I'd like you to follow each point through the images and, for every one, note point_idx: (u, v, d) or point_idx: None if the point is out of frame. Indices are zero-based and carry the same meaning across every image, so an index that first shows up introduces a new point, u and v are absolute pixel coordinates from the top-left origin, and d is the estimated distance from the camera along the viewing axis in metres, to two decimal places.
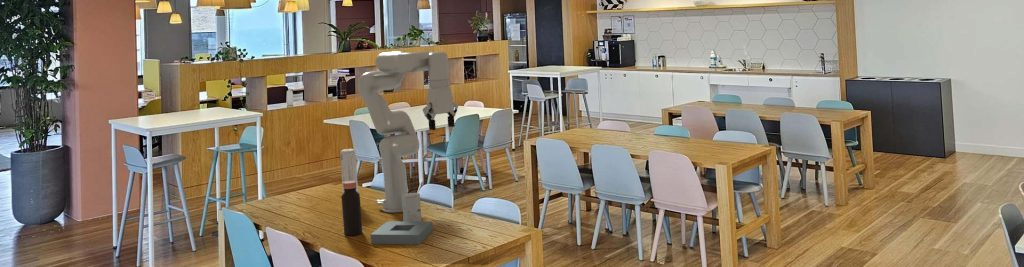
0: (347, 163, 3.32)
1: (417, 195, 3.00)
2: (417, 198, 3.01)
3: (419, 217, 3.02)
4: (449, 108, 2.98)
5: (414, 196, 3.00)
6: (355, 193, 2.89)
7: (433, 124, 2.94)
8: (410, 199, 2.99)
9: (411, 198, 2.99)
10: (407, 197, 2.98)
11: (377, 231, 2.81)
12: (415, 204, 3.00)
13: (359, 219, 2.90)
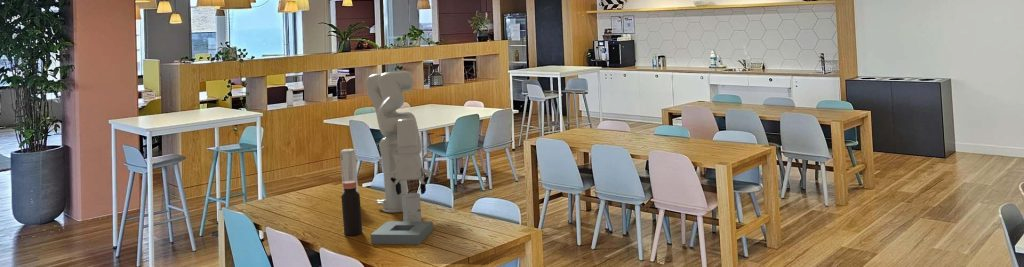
0: (347, 163, 3.32)
1: (417, 195, 3.00)
2: (417, 198, 3.01)
3: (419, 217, 3.02)
4: None
5: (414, 196, 3.00)
6: (355, 193, 2.89)
7: None
8: (410, 199, 2.99)
9: (411, 198, 2.99)
10: (407, 197, 2.98)
11: (377, 231, 2.81)
12: (415, 204, 3.00)
13: (359, 219, 2.90)
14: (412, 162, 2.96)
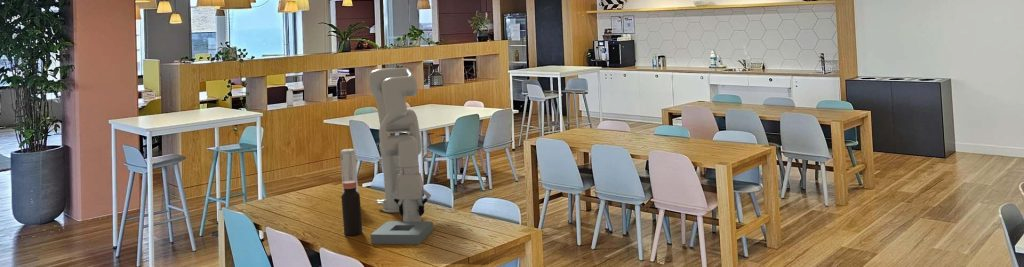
0: (347, 163, 3.32)
1: None
2: None
3: (419, 217, 3.02)
4: None
5: None
6: (355, 193, 2.89)
7: None
8: None
9: None
10: (407, 197, 2.98)
11: (377, 231, 2.81)
12: (415, 204, 3.00)
13: (359, 219, 2.90)
14: (413, 182, 2.97)
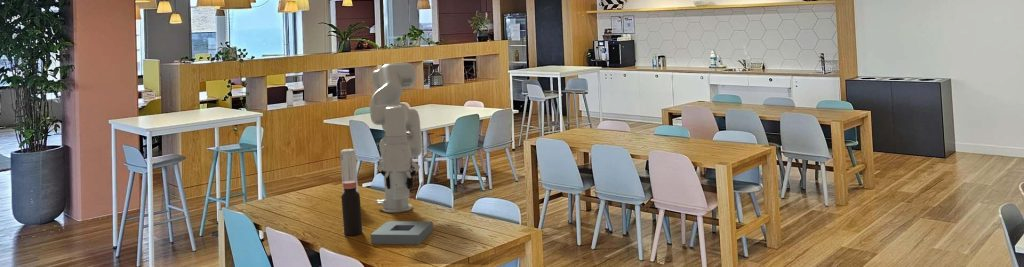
0: (347, 163, 3.32)
1: None
2: None
3: (407, 190, 2.82)
4: None
5: None
6: (355, 193, 2.89)
7: None
8: None
9: None
10: (394, 168, 2.78)
11: (377, 231, 2.81)
12: (403, 176, 2.80)
13: (359, 219, 2.90)
14: (401, 153, 2.77)
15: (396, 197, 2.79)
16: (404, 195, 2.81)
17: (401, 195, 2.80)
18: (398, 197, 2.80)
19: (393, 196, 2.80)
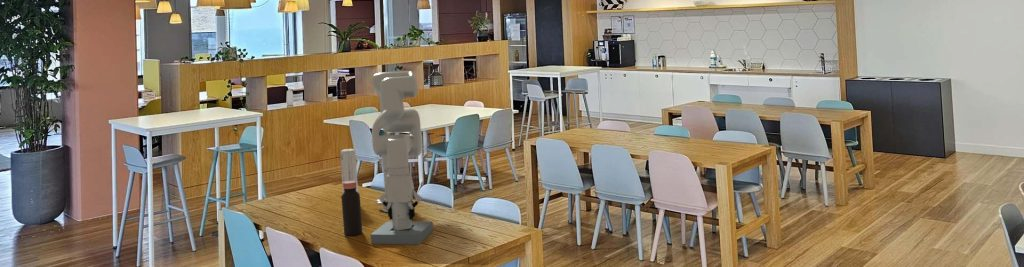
0: (347, 163, 3.32)
1: None
2: None
3: (409, 221, 2.83)
4: None
5: None
6: (355, 193, 2.89)
7: None
8: None
9: None
10: (396, 200, 2.80)
11: (377, 231, 2.81)
12: (405, 207, 2.82)
13: (359, 219, 2.90)
14: (403, 184, 2.79)
15: (398, 228, 2.81)
16: (406, 226, 2.83)
17: (403, 226, 2.82)
18: (400, 228, 2.81)
19: (395, 227, 2.82)
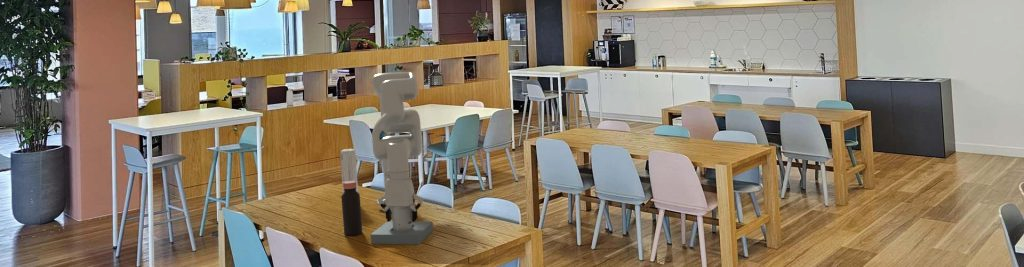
0: (347, 163, 3.32)
1: None
2: (408, 209, 2.83)
3: None
4: None
5: (405, 207, 2.82)
6: (355, 193, 2.89)
7: None
8: (400, 210, 2.81)
9: (401, 209, 2.81)
10: (397, 208, 2.80)
11: (377, 231, 2.81)
12: (406, 216, 2.83)
13: (359, 219, 2.90)
14: (403, 188, 2.79)
15: None
16: None
17: None
18: None
19: None
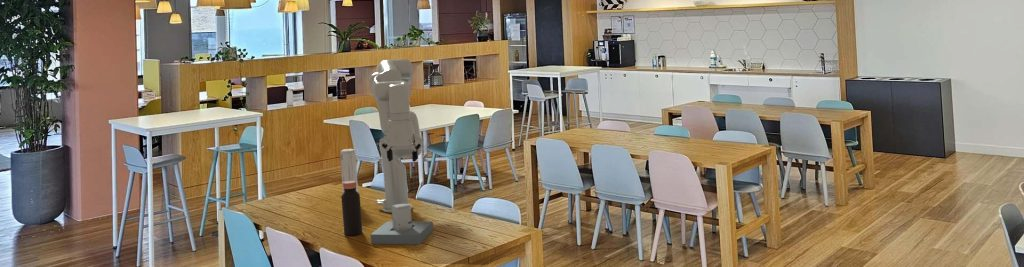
0: (347, 163, 3.32)
1: (408, 206, 2.83)
2: (408, 209, 2.83)
3: None
4: None
5: (405, 207, 2.82)
6: (355, 193, 2.89)
7: None
8: (400, 210, 2.81)
9: (401, 209, 2.81)
10: (397, 208, 2.80)
11: (377, 231, 2.81)
12: (406, 216, 2.83)
13: (359, 219, 2.90)
14: (404, 129, 2.89)
15: None
16: None
17: None
18: None
19: None
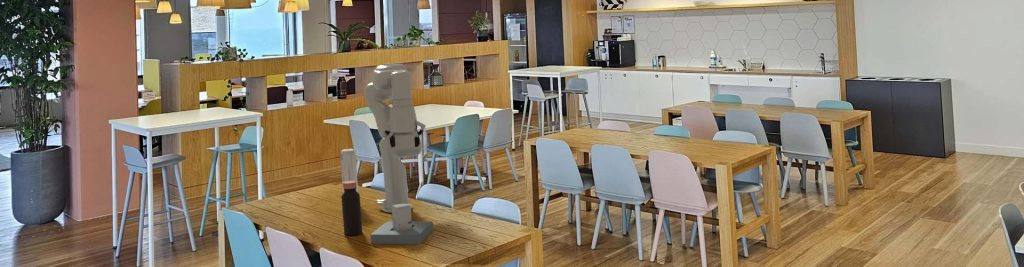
0: (347, 163, 3.32)
1: (408, 206, 2.83)
2: (408, 209, 2.83)
3: None
4: None
5: (405, 207, 2.82)
6: (355, 193, 2.89)
7: None
8: (400, 210, 2.81)
9: (401, 209, 2.81)
10: (397, 208, 2.80)
11: (377, 231, 2.81)
12: (406, 216, 2.83)
13: (359, 219, 2.90)
14: (406, 115, 2.96)
15: None
16: None
17: None
18: None
19: None
